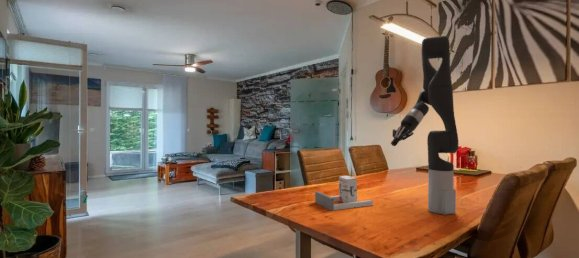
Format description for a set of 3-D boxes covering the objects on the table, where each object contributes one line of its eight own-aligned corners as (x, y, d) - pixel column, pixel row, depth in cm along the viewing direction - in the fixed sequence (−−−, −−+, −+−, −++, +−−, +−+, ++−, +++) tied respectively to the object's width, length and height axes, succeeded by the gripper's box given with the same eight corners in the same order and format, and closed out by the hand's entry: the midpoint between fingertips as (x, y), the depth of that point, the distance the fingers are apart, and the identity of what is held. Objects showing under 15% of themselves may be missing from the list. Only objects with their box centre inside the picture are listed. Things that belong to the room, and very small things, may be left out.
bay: (372, 205, 132) (373, 194, 132) (330, 210, 124) (330, 198, 124) (354, 198, 145) (354, 187, 145) (315, 202, 137) (315, 191, 137)
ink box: (338, 201, 139) (338, 175, 139) (348, 200, 141) (348, 175, 141) (347, 206, 131) (347, 179, 131) (357, 205, 133) (357, 178, 133)
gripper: (398, 115, 156) (379, 138, 151) (418, 114, 143) (398, 140, 139) (406, 125, 158) (387, 149, 153) (426, 125, 145) (407, 151, 141)
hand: (392, 144), depth 146 cm, fingers closed
